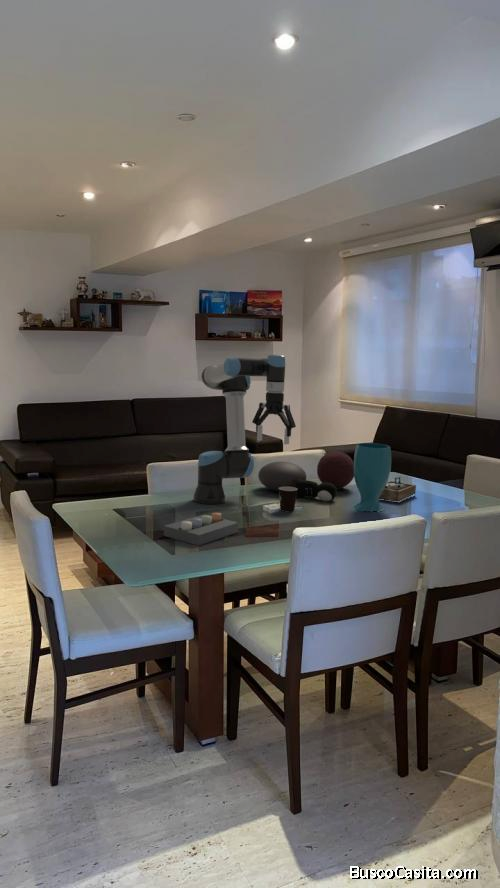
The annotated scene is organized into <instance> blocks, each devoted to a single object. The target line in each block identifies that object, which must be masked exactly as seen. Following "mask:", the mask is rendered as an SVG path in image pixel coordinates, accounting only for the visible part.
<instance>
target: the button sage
mask: <svg viewBox="0 0 500 888" xmlns="http://www.w3.org/2000/svg"><path fill="white" fill-rule="evenodd" d="M203 515H204V514H203ZM202 524H205V525H210V524H212V516H211V515H208V514H205V515H204V516H202Z"/></svg>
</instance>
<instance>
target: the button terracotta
mask: <svg viewBox="0 0 500 888" xmlns="http://www.w3.org/2000/svg"><path fill="white" fill-rule="evenodd" d="M210 516H212V521H214V522H219V521H221V519H222V513H221V512H212V513H211V515H210Z"/></svg>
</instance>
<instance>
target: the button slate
mask: <svg viewBox="0 0 500 888" xmlns="http://www.w3.org/2000/svg"><path fill="white" fill-rule="evenodd" d="M192 518H193V517H192ZM192 527H195V528H200V527H202V519H200V518H193V519H192Z"/></svg>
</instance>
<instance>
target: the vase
mask: <svg viewBox="0 0 500 888" xmlns="http://www.w3.org/2000/svg"><path fill="white" fill-rule="evenodd" d="M391 449H392V448H391V446H389V445H387V444H382V443H376V442H375V443H372V442H370V443H369V442H368V443H367V442H362V443H357V444H356V446H355V450H354V454H353V455H354V456H353V471H354V478H353V479H354V482H355V485H356V488H357V491H358V492H359V496H360V500H359V503H356V504H355V505H353V506H352V507H353V508H354V510H356V511H360V512H364V511H379V510H381V509H382V508H384V507H383V506H382V505H381V503H380V500H379V497H380V495H381V494H382V492H383V490H384V488H385V486H386V484H387V482H389V478H390V475H391V469H392V450H391Z"/></svg>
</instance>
